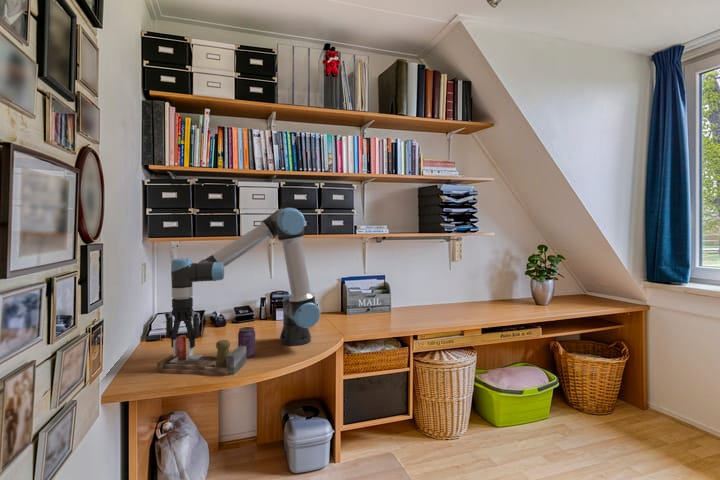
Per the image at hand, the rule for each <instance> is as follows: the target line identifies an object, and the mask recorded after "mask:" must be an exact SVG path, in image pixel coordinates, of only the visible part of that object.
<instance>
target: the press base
mask: <svg viewBox="0 0 720 480" xmlns="http://www.w3.org/2000/svg"><path fill="white" fill-rule="evenodd" d="M176 357H178V355H177V356H173V354H171V355H168V356H167V357H166V358H165V357H164V359H162V360H160V361H158V362H157V363H156V364H157V365H156V367H157V368H156V372H157V373H163V374H164V373H165V374H189V375H211V376H213V375H214V376H229V375H235V374H237V373H238V371H240V370H241V369H242V368H243V367H244V366H245V365H246V364H247V358H246V346H239V347H238V346H237V347H236V348H235V349H233V350H232V351H231V352H229V354H228V355H227V356H226V368H221V367H216V359H217V355H204V362H203V363H201V364H200V365H182V364H169V362H170V361H171V360H173V359H175V358H176Z"/></svg>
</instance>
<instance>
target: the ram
mask: <svg viewBox="0 0 720 480" xmlns="http://www.w3.org/2000/svg"><path fill="white" fill-rule="evenodd" d="M177 352H178V357H176V358H175V359H173V360H171V361H170V362H169V364H182V365H200V364H201V363H203V362H204V356H205V354H194V353H193V355H192V356H190V357H188V354H187V335H186V334H181V335H177Z"/></svg>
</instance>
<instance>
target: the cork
mask: <svg viewBox="0 0 720 480" xmlns="http://www.w3.org/2000/svg"><path fill="white" fill-rule="evenodd" d="M215 347H216V349H217V352H216V356H217V359H216V366H215V367H221V368H226V356H227V355H228V354H229V353H230V349H229V348H230V347H231V343H230V341H229V340H228V339H219V340H217V342H216V344H215Z"/></svg>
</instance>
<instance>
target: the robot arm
mask: <svg viewBox="0 0 720 480" xmlns="http://www.w3.org/2000/svg"><path fill="white" fill-rule="evenodd" d="M259 224H260V225H258V226H256V227H254V228H253V229H251V230H249V231H248V232H247V233H245V234H243V235H241V236H239V237H238V238H237V239H235V240H234V241H232V242H230V243H229V244H227V245H226V246H224V247H223V248H221V249H219V250H217V251H216V252H214V253H213V254H211V255H209V256H208V257H206V258H205V259H204V258H203V259H202V260H200V261H199V262H197V263H196V262H193V259H192V258H190V257H189V258H183V257H181V258H174V259H172V261H171V263H170V264H171V266H170V267H171V268H170V269H171V270H170V272H171V273H170V275H171V276H170V277H171V308H172V309H171V311H169V312H166V313H164V317H165V320H166V321H165V322H166V323H165V324H166V326H165V329H166V331H165V334H166V335H165V337H166V339H170V341H171V343H170V344H171V348H172V349H173V351H172V352H173V356H177V355H178V352H177V336H178V333H179V330H180V326H181V322H183V324H185V328H186V332H187V336H188V340H187V339H186V342H187V355H188V357H190V356H192V355H193V354H194V348H195V346H196V339H198V338H199V337H200V336H201V334H200V333H201V331H200V330H201V329H200V316H201V313H200V312H195V311H194V309H193V306H194V301H193V291H194V290H193V283H196V282H216V281H223V280H224V279H225V268H226V266H229V265H230V264H232V263H233V262H234V261H236V260H237V259H240V258H241V257H243V256H244V255H246V254H247V253H249V252H251V251H252V250H254V249H255V248H257V247H258V246H260V245H261V244H263V243H265V242H266V241H267V240H269V239H270V240H274V239H275V238H277V240H278V241H279V242H280V243H281V244H282V248H283V253H284V261H285V264H286V265H285V267H286V271H287V278H288V282H289V288H290V289H289V290H290V294H285V295H284V296H283V299H282V307H283V308H282V309H283V311H282V312H283V315H282V316H283V317H282V319H283V320H282V322H283V325H282V326H283V327H282V329H281V332H280V335H279V343H280V344H282V345H285V346H300V345H306V344H308V343H310V342H311V341H312V335H311V332H310V328H312V327H314V326H315V325H316V324H317V323H318V322H319V321H320V318H321V310H320V308H319V306H318V305H317V303H316V297H315V294H314V293H313V292H312V291H311V288H310V282H309V281H310V280H309V275H308V271H307V269H308V268H307V263H306V259H305V253H304V252H305V251H304V247H303V239H304V238H305V233H304V232H305V231H304V229H305V226H306V219H305V216H304V215H303V213H302V212H301V210H298V209H297V208H294V207H285V208H279V209H277V210H275V211H274V212H273V213H271V214H270V215H269V216H267V217H266V218H265V219H263V220H262V221H260V223H259ZM173 318H174V319H173ZM192 318H193V319H192Z"/></svg>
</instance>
